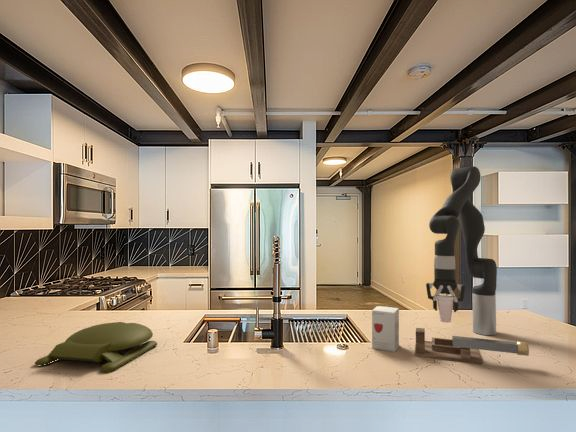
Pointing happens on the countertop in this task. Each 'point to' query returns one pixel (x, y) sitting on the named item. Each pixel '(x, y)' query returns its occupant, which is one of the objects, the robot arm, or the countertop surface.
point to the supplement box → (385, 328)
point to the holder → (443, 349)
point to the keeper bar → (491, 345)
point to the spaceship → (103, 345)
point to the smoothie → (445, 307)
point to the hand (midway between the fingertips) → (445, 310)
